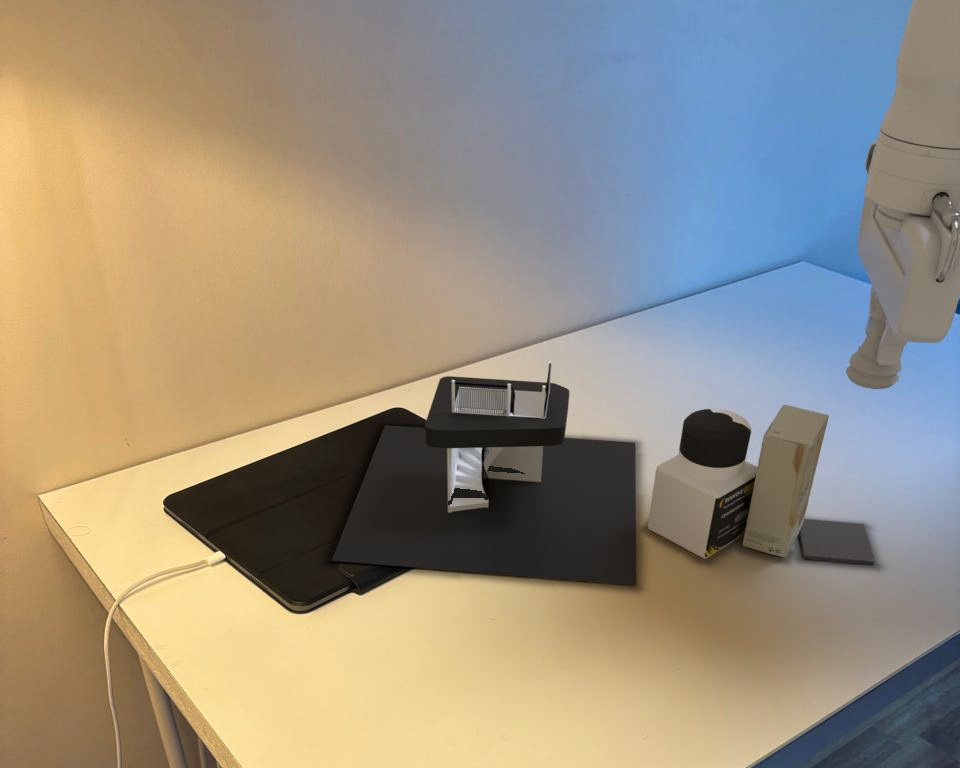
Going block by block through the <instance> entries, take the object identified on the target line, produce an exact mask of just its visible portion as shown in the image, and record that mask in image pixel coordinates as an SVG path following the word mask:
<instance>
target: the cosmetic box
mask: <svg viewBox="0 0 960 768" xmlns="http://www.w3.org/2000/svg"><path fill="white" fill-rule="evenodd" d="M829 417H830V415H829V414H826V413H822V412H818V411H814V410H809V409H805V408H800V407H796V406H793V405H789V404H783V405H782V406H781V408H779V411H778V412H777V414H776V415H775V417H774V418H773V420H772V421H771V423H770V425H769V426H768V428H767V430H766V431H765V432H764V434H763V437H762V442H761V448H760V452H759V458H758V464H757V473H756V478H755V483H754V488H753V493H752V498H751V503H750V509H749V514H748V519H747V524H746V529H745V534H744V535H743V539H742V546H743V547H745V548H748V549H749V548H750V549H752V550H756V551H759V552H762V553H765V554H769V555H772V556H773V555H774V556H776V557H780V558H786V557H787V556H788V554H789V552H790V551H791V549H792V547H793V546H794V544H795V542H796V540H797V538H798V536H799V532H800V529H801V527H802V525H803V521H804V519H805V517H806V512H807V509H808V505H809V500H810V499H809V498H810V496H811V491H812V488H813V483H814V479H815V475H816V471H817V468H818V463H819V458H820V454H821V450H822V446H823V443H824V438H825V434H826V430H827V426H828V422H829Z"/></svg>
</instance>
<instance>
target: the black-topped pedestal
mask: <svg viewBox="0 0 960 768" xmlns="http://www.w3.org/2000/svg"><path fill="white" fill-rule="evenodd" d="M552 363H553V362H552V361H548V369H547V370H548V371H547V378H546V382H545V381H529V380H526V381H525V380H514V379H513V380H512V379H497V378H482V377H469V376H467V377H466V376H450V375H447V376H443V377H441V378H440V379H439V381H438V383H437V387H436V389H435V393H434V396H433V398H432V402H431V404H430V408H429V411H428V414H427V417H426V419H425V423H424V427H417V426H416V427H415V426H400V425H387V424H386V425H385V424H384V426H383V429H382V431H381V433H380V437H379V439H378V441H377V444H376V447H375V448H374V452H373V454H372V457H371V460H370V462H369V464H368V466H367V470H366V472H365V475H364V477H363V479H362V481H361V482H362V483H361V484H360V487H359V490H358V493H357V495H356V497H355V499H354V503H353V504H352V508H351V510H350V513H349V515H348V518H347V521H346V523H345V525H344V528H343V531H342V532H341V536H340V537H339V540H338V543H337V545H336V549H335V550H334V553H333V556H332V558H331V562H343V563H355V564H368V565H379V566H391V567H404V568H418V569H429V570H430V569H431V570H443V571H456V572H468V573H480V574H491V575H502V576H503V575H504V576H505V575H506V576H517V577H530V578H541V579H543V578H544V579H552V580H553V579H554V580H565V581H567V580H569V581H580V582H591V583H605V584H616V585H617V584H618V585H627V586H628V585H629V586H637V502H636V501H637V497H636V494H637V493H636V489H637V487H636V484H637V483H636V442H634V441H621V440H620V441H617V440H606V439H605V440H604V439H590V438H576V437H566V429H567V421H568V413H569V402H570V389H569V388H567V387H565V386H563V385H561V384H558V383H555V382H551V379H552V377H551V376H552ZM489 466H494V467H502V468H512V469H515V470H518V471H520V472H523V473H525V474H521V473H507V472H493V471H487V470H488V468H489ZM455 488H460V489H470V490H477V491H482V493H484V494H485V495H486V496H487V497H488V500H485V499H484V498H453V501H452V504H450V505H448V501H450V500H451V496H452V494H453V493H454V489H455Z"/></svg>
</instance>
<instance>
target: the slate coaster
mask: <svg viewBox="0 0 960 768" xmlns="http://www.w3.org/2000/svg"><path fill="white" fill-rule="evenodd" d="M798 536H799V540H800V545H801V551H802V555H803V560H815V561H823V562H836V563H847V564H848V563H849V564H858V565H859V564H860V565H871V566H873V565H874V566H875V564H876V560H875V557H874V554H873V553H874V552H873V550H872V546H871V543H870V540H869V537H868V533H867V530H866V527H865V523H859V522H846V521H835V520H824V519H823V520H822V519H809V518H804V521H803V525H802V527H801V529H800V532H799V534H798Z"/></svg>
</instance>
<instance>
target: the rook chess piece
mask: <svg viewBox="0 0 960 768" xmlns="http://www.w3.org/2000/svg"><path fill="white" fill-rule="evenodd" d="M873 298H874V301H875V303H876V306H877V308H876V310H875V311H874V312H873V313H872V314H871V317H872V319H873V320H872V324H871V327H870V329H869V331H868V334H867V335H866V336H865V339H864V341H863V342H862V344H861V345H860V346H858V347H857V351H856V352H854V353H853V354H851V356H850V358H849V362H848V363H849V365H848V366H847V367H846V369H845V374H846V376H847V378H848V379H849V381H850V382H851V383H853V384H855V386H859V387H862V388H865V389H869V390H870V389H872V390H885V389H890V388H891V387H892V386H894V385H895V384H896V383H898V382H899V381H900V375H899V374H898V373H900V372H902V361H901V360H900V361H899V363H898V364H897V365H895V366H887V365H880V364H878V363H877V360H876V357H875V354H874V353H875V349H876V346H877V342H878V338H879V337H882V335H883V332H884V330H885V327H886V323H885V321H886V315H885V313H884V310H883V308H882V306H881V304H880V302H879V299H878V297H877V295H876V294H875V295H874V297H873Z"/></svg>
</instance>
